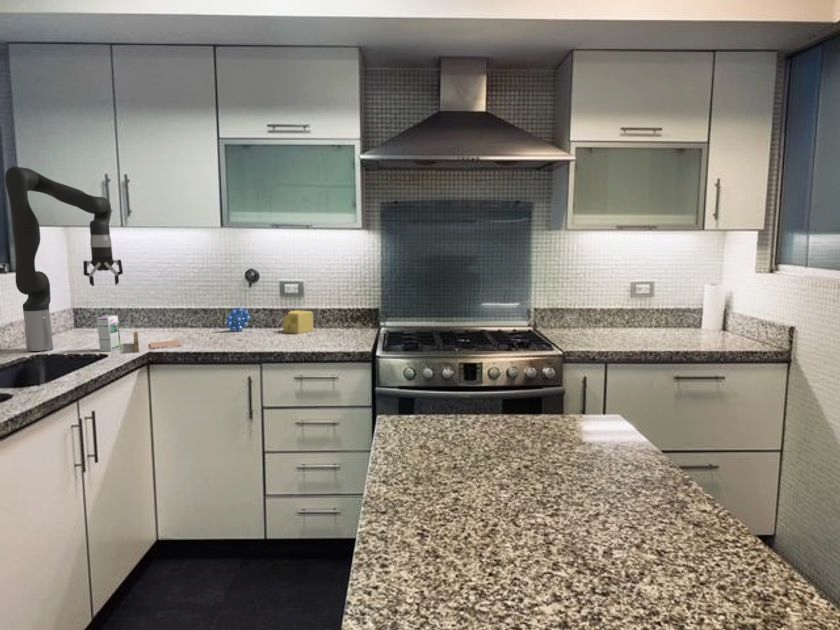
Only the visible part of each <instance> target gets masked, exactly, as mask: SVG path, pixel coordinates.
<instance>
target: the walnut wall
mask: <svg viewBox="0 0 840 630" xmlns="http://www.w3.org/2000/svg"><path fill="white" fill-rule="evenodd" d="M139 346H140V345H139V334H138V331H134V332H133V348H134V350H133V351H134V353H135V352H136V353H140V347H139Z"/></svg>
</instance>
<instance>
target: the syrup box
mask: <svg viewBox="0 0 840 630" xmlns="http://www.w3.org/2000/svg"><path fill="white" fill-rule="evenodd" d="M96 324H97V325H96V326H97V333H98V343H99V344H98V345H99V351H100V352H114V351H117V350H121V349H122V345H121V335H120V327H119V326H120V325H119V316H118V315H115V314H111V315H103V316H98V317H96Z"/></svg>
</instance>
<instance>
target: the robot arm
mask: <svg viewBox="0 0 840 630" xmlns="http://www.w3.org/2000/svg"><path fill="white" fill-rule="evenodd" d="M4 175H5V176H4V180H5V181H4V182H5V186H6V191H7V196H8V200H9V207H10V216H11V223H12V226H11V227H12V234H13V235H12V236H13V244H14V255H15V285H16V289H17V290H18V291H19V293H21V294H22V295H27V298H26V300H25V301H24V303H23V304H22V313H23V321H24V335H25V336H24V337H25V346H26V351H27V350H28V351H40V350H48V349H52V348H53V349H54V342H53V334H52V333H53V331H52V323H51V315H50V314H51V313H50V304H51V298H52V297H51V284H50V279H49V277H48V275H47V274H46V273H45V272H43V271H40V270H36V265H35V264H36V263H35V261H36V255H37V253H38V250H39V247H40V244H41V229H40V224H39V223H40V222H39V220H38V218H37V216H36V214H35V213H34V211H33V209H32V207H31V206H30V202H29V197H28V192H35V193H36V192H37V193H42V194H46V195H48V196H51V198H54V199H56V200H57V201H59V202H61V203H64V204H67V205H69V206H71V207H72V206H73V207H76V208H78V209H80V210H82V211H84V212H86V213H89V214H93V220H91V221H90V222H89V233H90V253H91V260H83V266H82V267H83V275H84V276H85V277H88V280H89V284H90V285H91V286H92V287H95V279H94V275H95V273H96V271H99V272H103V271H106V272H107V271H110V272H111V273H113V275H114V284H115V286H117V285H118V284H119V282H120V281H119V279H120V278H119V276H121V275H123V273H124V272H123V271H124V270H123V264H122V260H121V259H116V260H114V259H113V258H114V257H113V247H112V246H113V245H112V238H111V235H110V234H111V231H110V221H111V216H112V214H111V213H112V206H111V203H110V201H109V200H108V198H106V197H103V196H96V195H95V196H94V195H91V194H87V193H86V192H85V191H83V190H80V189H78V188H75V187H73V186H69V185H66V184H63V183H60V182H58V181H54V180H52V179H50V178H48V177H46V176H44V175H42V174H40V173H38V172H37V171H35V170H33V169H31V168H27V167H23V166H22V167H20V166H11V167H9V168H7V170H6V172H5V174H4ZM90 264H91V265H92V266H93V269H92V270H91V272H88V267H89V266H90ZM114 264H115V265H116V266H118V271H116V270H115V268H114V267H113V265H114ZM53 349H52V350H53ZM28 351H27V352H28ZM48 351H49V350H48Z"/></svg>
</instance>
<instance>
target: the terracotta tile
mask: <svg viewBox="0 0 840 630" xmlns="http://www.w3.org/2000/svg"><path fill="white" fill-rule="evenodd" d="M149 346H150V350H154V349H153V348H157V349H161V348H160V347H168V346H180V347H182V343H181V341H180V340H166V341H155V342H149Z"/></svg>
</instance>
